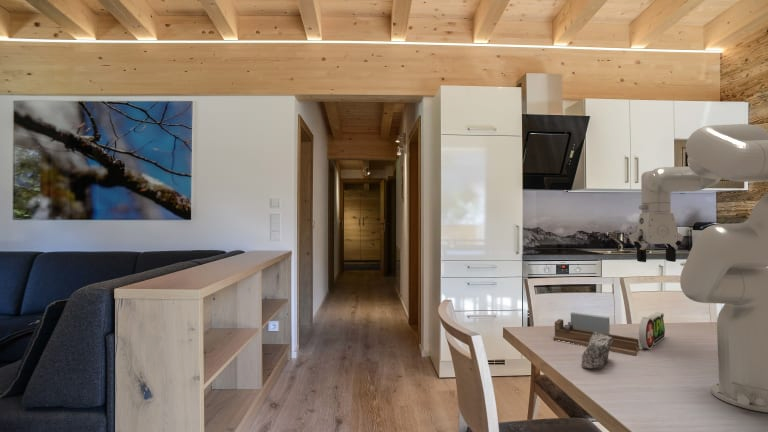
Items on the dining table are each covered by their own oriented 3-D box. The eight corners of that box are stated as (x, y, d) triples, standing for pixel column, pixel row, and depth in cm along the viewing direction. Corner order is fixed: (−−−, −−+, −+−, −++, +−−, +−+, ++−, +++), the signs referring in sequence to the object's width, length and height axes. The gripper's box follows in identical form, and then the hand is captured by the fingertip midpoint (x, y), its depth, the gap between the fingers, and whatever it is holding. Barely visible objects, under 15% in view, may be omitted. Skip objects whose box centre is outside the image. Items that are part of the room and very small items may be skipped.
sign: (658, 337, 129) (658, 309, 130) (665, 338, 128) (664, 310, 128) (639, 350, 115) (638, 319, 116) (646, 352, 114) (645, 320, 114)
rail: (635, 355, 111) (635, 336, 111) (553, 340, 126) (553, 323, 127) (639, 348, 117) (638, 330, 118) (560, 334, 133) (560, 318, 133)
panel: (608, 341, 125) (608, 318, 125) (571, 334, 133) (570, 313, 133) (609, 339, 127) (609, 317, 127) (572, 333, 135) (572, 312, 135)
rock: (598, 375, 96) (601, 337, 97) (566, 365, 102) (569, 329, 103) (620, 371, 105) (622, 336, 106) (589, 361, 112) (592, 329, 113)
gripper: (638, 208, 111) (638, 263, 112) (692, 208, 112) (692, 262, 112) (621, 209, 119) (622, 260, 119) (672, 208, 120) (672, 259, 120)
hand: (656, 261), depth 116 cm, fingers open, 9 cm apart
